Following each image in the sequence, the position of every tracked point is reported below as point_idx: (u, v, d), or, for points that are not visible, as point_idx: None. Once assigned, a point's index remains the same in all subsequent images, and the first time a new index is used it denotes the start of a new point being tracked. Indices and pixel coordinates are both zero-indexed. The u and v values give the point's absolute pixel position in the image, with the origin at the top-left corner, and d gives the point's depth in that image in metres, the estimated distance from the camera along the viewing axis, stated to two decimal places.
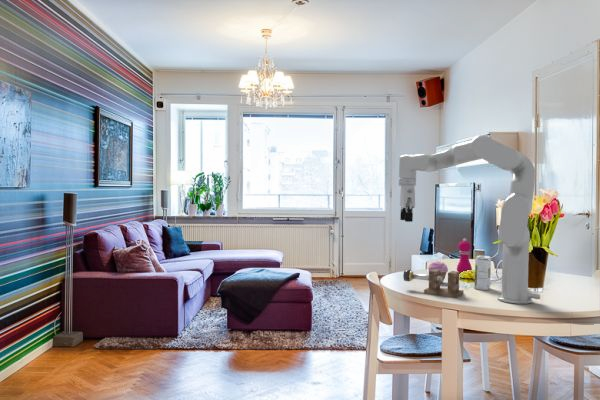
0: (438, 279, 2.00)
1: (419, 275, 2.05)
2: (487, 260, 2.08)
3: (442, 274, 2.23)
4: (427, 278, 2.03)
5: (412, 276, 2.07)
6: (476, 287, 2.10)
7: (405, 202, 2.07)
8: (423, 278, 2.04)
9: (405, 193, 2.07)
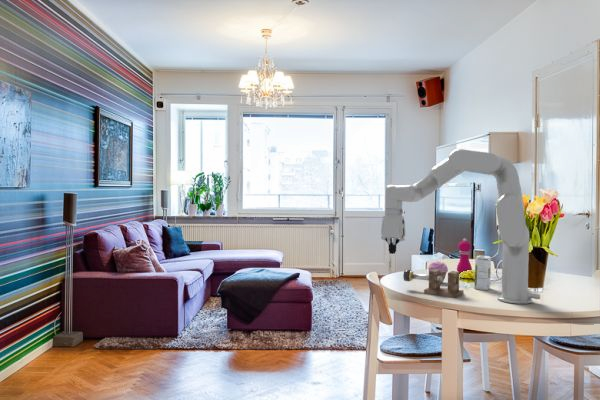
0: (438, 279, 2.00)
1: (419, 275, 2.05)
2: (487, 260, 2.08)
3: (442, 274, 2.23)
4: (427, 278, 2.03)
5: (412, 276, 2.07)
6: (476, 287, 2.10)
7: (401, 233, 2.09)
8: (423, 278, 2.04)
9: (401, 224, 2.09)
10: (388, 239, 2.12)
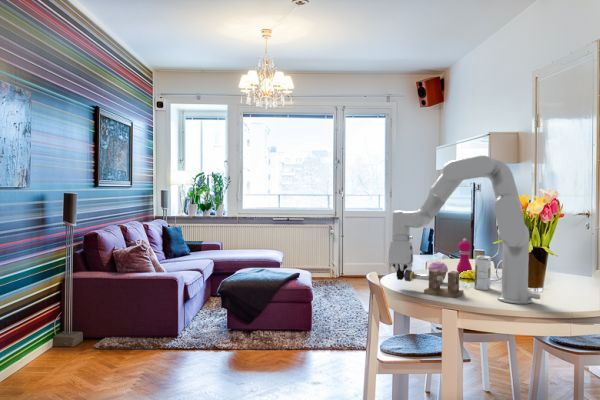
0: (439, 279, 2.00)
1: (420, 275, 2.05)
2: (487, 260, 2.08)
3: (442, 274, 2.23)
4: (428, 278, 2.03)
5: (413, 276, 2.06)
6: (476, 287, 2.10)
7: (409, 259, 2.07)
8: (424, 278, 2.04)
9: (409, 250, 2.07)
10: (396, 265, 2.11)
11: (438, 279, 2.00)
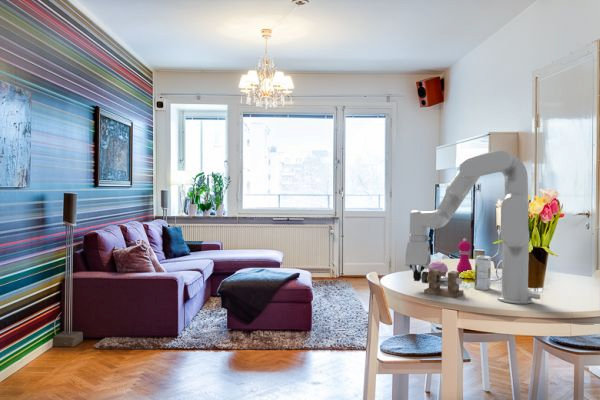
0: (457, 281, 1.96)
1: (437, 277, 2.01)
2: (487, 260, 2.08)
3: (442, 274, 2.23)
4: (446, 280, 1.98)
5: None
6: (476, 287, 2.10)
7: (427, 260, 2.02)
8: (442, 280, 1.99)
9: (426, 251, 2.02)
10: (413, 266, 2.06)
11: (456, 281, 1.96)
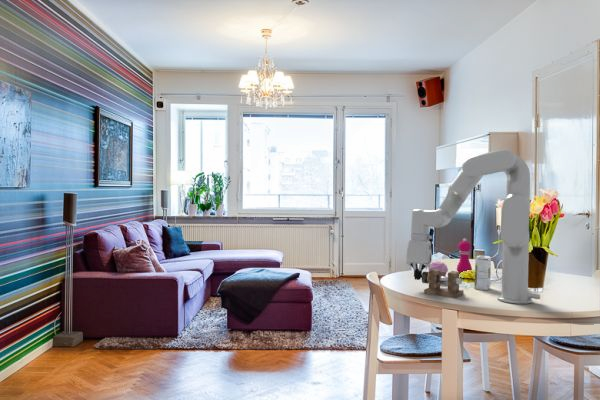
0: (458, 281, 1.96)
1: (438, 277, 2.01)
2: (487, 260, 2.08)
3: (442, 274, 2.23)
4: (446, 280, 1.98)
5: None
6: (476, 287, 2.10)
7: (428, 259, 2.02)
8: (442, 280, 1.99)
9: (428, 250, 2.02)
10: (414, 264, 2.06)
11: (457, 281, 1.96)
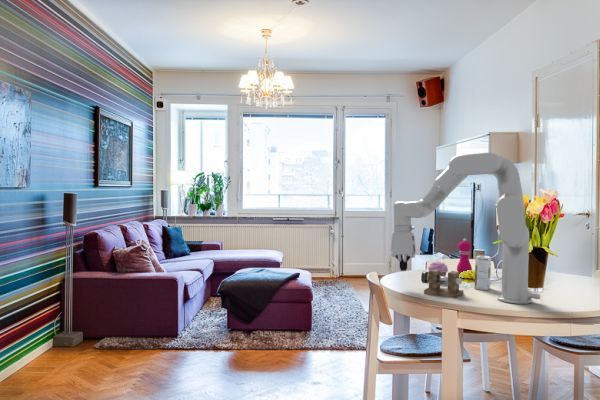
0: (457, 281, 1.96)
1: (437, 277, 2.01)
2: (487, 260, 2.08)
3: (442, 274, 2.23)
4: (446, 280, 1.98)
5: None
6: (476, 287, 2.10)
7: (412, 249, 2.06)
8: (442, 280, 1.99)
9: (411, 240, 2.07)
10: (399, 256, 2.10)
11: (456, 281, 1.96)
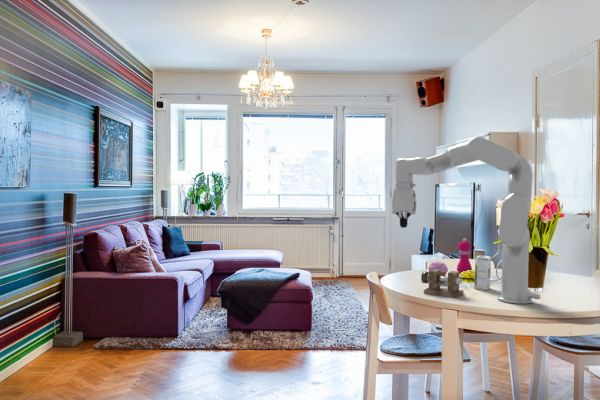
0: (457, 281, 1.96)
1: (437, 277, 2.01)
2: (487, 260, 2.08)
3: (442, 274, 2.23)
4: (446, 280, 1.98)
5: None
6: (476, 287, 2.10)
7: (413, 206, 2.08)
8: (442, 280, 1.99)
9: (412, 197, 2.08)
10: (399, 213, 2.12)
11: (456, 281, 1.96)
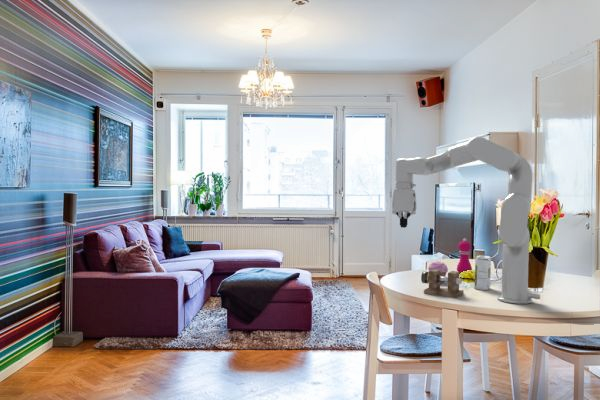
0: (457, 281, 1.96)
1: (437, 277, 2.01)
2: (487, 260, 2.08)
3: (442, 274, 2.23)
4: (446, 280, 1.98)
5: None
6: (476, 287, 2.10)
7: (413, 206, 2.08)
8: (442, 280, 1.99)
9: (412, 197, 2.08)
10: (399, 213, 2.12)
11: (456, 281, 1.96)
